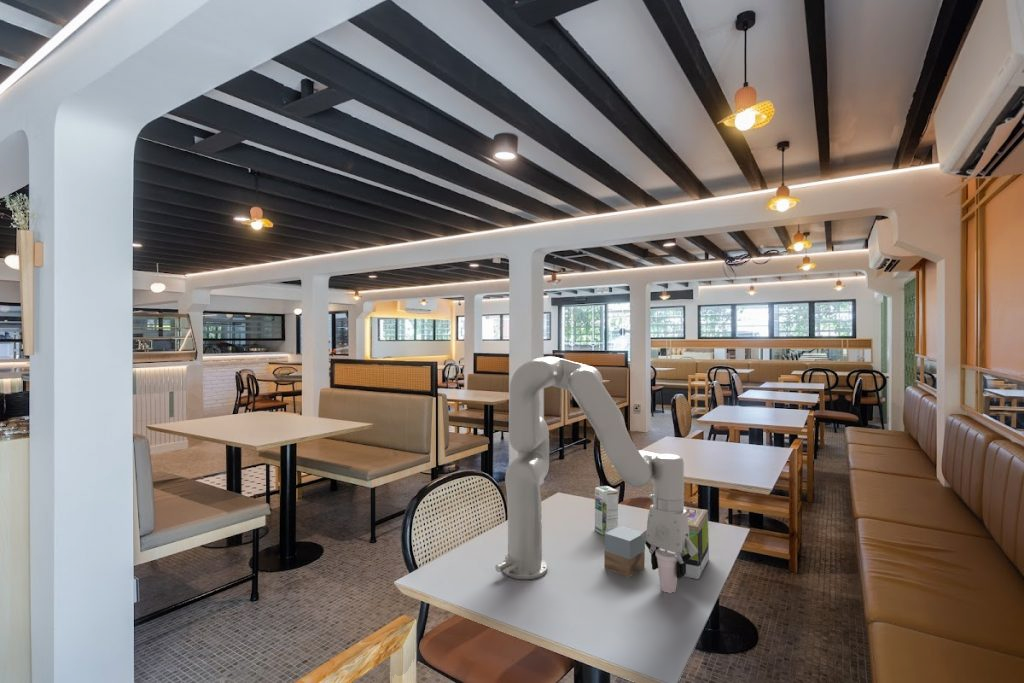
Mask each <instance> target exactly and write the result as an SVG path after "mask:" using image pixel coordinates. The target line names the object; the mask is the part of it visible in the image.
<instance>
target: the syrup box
mask: <svg viewBox="0 0 1024 683" xmlns="http://www.w3.org/2000/svg"><path fill="white" fill-rule="evenodd" d="M618 520H619V490H618V489H616V488H613V487H611V486H608V485H604V486H603V485H601V486H598V487H597V486H596V487H595V488H594V531H595V530H596V532H597V533H599V534H600V535H602V536H604V537H605V533H607V532H609V531H611V530H613V529H615V528H617V527H619V526H618V523H619V521H618Z"/></svg>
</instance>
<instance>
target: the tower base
mask: <svg viewBox="0 0 1024 683" xmlns="http://www.w3.org/2000/svg"><path fill="white" fill-rule="evenodd" d="M645 552H646V550H645V551H643V552H641V553H640V554H638V555H636V556H635V557H633V558H631V559H627V558H624V557H621V556H618V555H615V554H613V553H610V552H607V551H605V550H604V557H603V558H604V566H603V567H604V568H605V569H607V570H610V571H612V572H614V571H615V573H618V574H620V575H622V576H625V577H628V578H630V577H632V576H634V574H637V573H639V571H641V570H643V569H644V567H646V566H645V561H646V560H645V558H646V557H645V554H646V553H645ZM631 575H632V576H631Z"/></svg>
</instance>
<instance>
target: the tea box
mask: <svg viewBox="0 0 1024 683" xmlns="http://www.w3.org/2000/svg"><path fill="white" fill-rule="evenodd" d="M684 510H686V513H687V518H688V525H689V539H690V540H691V542H692V543H693V544H694V546H695V547H696V548H697V550H698V553H696V554H695V555H694V556H692V557H691V558H690V559H688V560H687V561H686V574H685V575H684V576H683V577H685V578H689V579H690V578H691V579H694V580H699V579H700V576H701V575H702V573H703V571H704V570H705V567H706V564H707V563H708V561H709V558H710V551H709V550H710V548H709V547H710V546H709V542H710V541H709V540H710V538H709V510H708V509H703V508H702V509H701V508H696V507H690V506H684ZM685 551H686V554H687V553H688V552H689V549H688V548H687V549H685Z"/></svg>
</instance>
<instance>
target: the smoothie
mask: <svg viewBox="0 0 1024 683" xmlns="http://www.w3.org/2000/svg"><path fill="white" fill-rule="evenodd" d="M655 555H656V557H657V563H658V568H657V569H658V577H659V585H660V590H661V591H662V592H663V591H664V592H663V593H666V592H668V593H667V594H673V593H672V592H674V593H676V589H677V583H678V578H677V577H676V564H677V562H678V558H677V555H676V553H674V552H671V551H668V550H665V549H661V548H659V549H657V550H656V554H655Z"/></svg>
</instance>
